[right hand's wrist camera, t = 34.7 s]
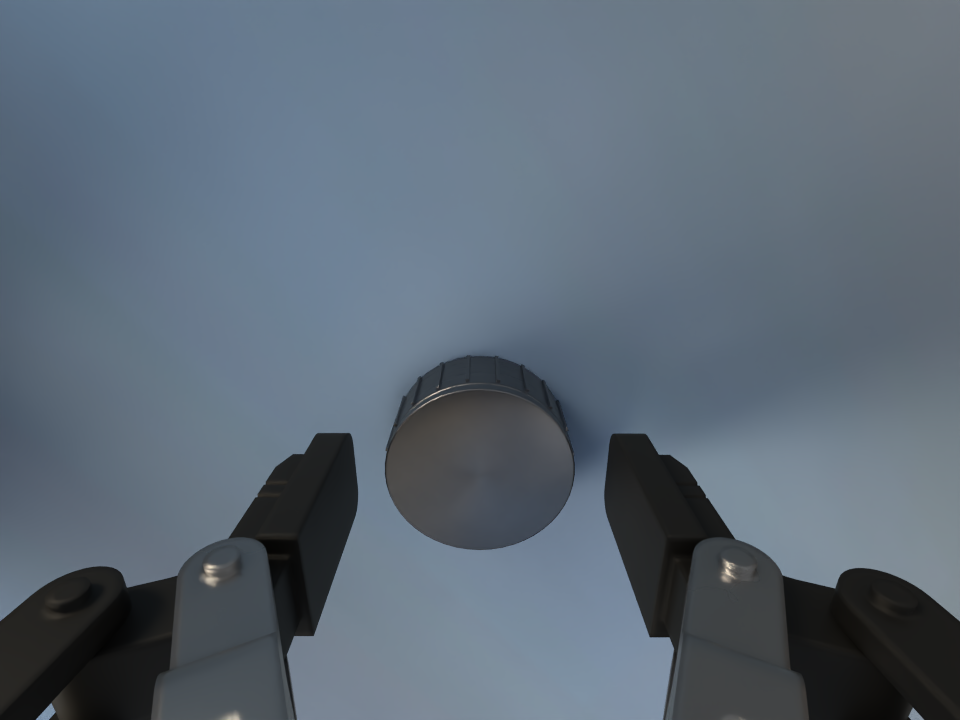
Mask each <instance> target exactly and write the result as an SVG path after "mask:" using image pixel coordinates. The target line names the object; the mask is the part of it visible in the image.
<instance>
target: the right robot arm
mask: <svg viewBox="0 0 960 720" xmlns="http://www.w3.org/2000/svg"><path fill="white" fill-rule="evenodd" d="M604 499H605V509H606V514H607V518H608V521H609V523H610V526H611V529H612V532H613V535H614V538H615V540H616V543H617V546H618V549H619V552H620V554H621V557H622V560H623V563H624V566H625V569H626V571H627V574H628V577H629V580H630V583H631V585H632V588H633V591H634V594H635V597H636V600H637V602H638V605H639V608H640V611H641V614H642V616H643V619H644V622H645V625H646V628H647V631H648V633H649V636H650V637H670V639H671V642H672V644H673V647H674V653H673V658H672V663H671V669H670V676H669V682H668V689H667V695H666V702H665V709H664V715H663V720H911V719H910V718H909V717H908V716H909V714H910V712H911V710H912V708H914V709H915V710H916V711H917V712H918V713H919V714H920V715H921V716H922V718H923V719H924V720H960V621H959V620H957V619H956V618H955V617H954V616H953V615H951V614H950V613H949V612H948V611H947V610H945V609H944V608H943V607H942V606H941V605H939V604H938V603H937V602H936V601H935V600H934V599H932V598H931V597H930V596H929V595H927V594H926V593H925V592H923V591H922V590H921V589H919V588H917V587H916V586H914V585H913V584H911V583H909V582H907V581H905V580H903V579H901V578H899V577H896V576H894V575H891V574H888V573H885V572H882V571H878V570H873V569H866V568H854V569H849V570H847V571H845V572H843V573H842V574H841V575H840V577H839V579H838V582H837V585H836V588H830V587H826V586H822V585H817V584H813V583H809V582H804V581H800V580H796V579H792V578H789V577H786V576H783V575H782V573H781V571H780V569H779V567H778V566H777V565H776V563H775V562H774V561H773V560H772V559H771V558H770V557H769V556H767V555H766V554H765V553H764V552H762V551H761V550H759V549H757V548H756V547H754V546H752V545H750V544H747V543H745V542H742V541H739V540H735V538H734V537H733V535H732V534H731V532H730V531H729V529H728V528H727V526H726V525H725V523H724V522H723V520H722V519H721V517H720V516H719V514H718V513H717V511H716V510H715V508H714V507H713V505H712V504H711V502H710V501H709V499H708V498H706V495H705V493H704V492H703V490H702V489H701V487H700V486H698V485H697V481H696V480H695V478H694V477H693V475H692V474H691V472H690V471H689V469H688V468H687V467H686V466H684V465H683V464H682V463H680V462H679V461H677V460H676V459H675V458H673V457H672V456H671V455H659V454H658V453H657V451H656V449H655V448H654V446H653V444H652V443H651V441H650V439H649V438H648V436H647V435H646V434H612V436H611V439H610V444H609V453H608V462H607V472H606V481H605V491H604ZM357 505H358V485H357V476H356V466H355V457H354V447H353V440H352V436H351V434H350V433H317V434H316V435H315V437H314V439H313V440H312V442H311V444H310V445H309V447H308V449H307V450H306V452H305V454H293V455H291V456H290V457H289V458H287V459H286V460H285V461H283V462H282V463H280V464H279V465H278V466H276V467H275V469H274V470H273V472H272V473H271V475H270V476H269V478H268V479H267V481H266V485H263V487H262V488H261V490H260V491H259V493H258V497H255V499H254V501H253V502H252V504H251V505H250V507H249V508H248V510H247V511H246V513H245V514H244V516H243V517H242V519H241V520H240V522H239V523H238V525H237V526H236V528H235V529H234V531H233V532H232V534H231V535H230V537H229V538H228V539H225V540H221V541H218V542H215V543H213V544H210V545H208V546H206V547H204V548H203V549H201V550H199V551H198V552H196V553H195V554H194V555H193V556H191V557H190V558H189V559H188V560H187V561H186V562H185V563H184V565H183V566H182V567H181V569H180V571H179V573H178V576H175V577H171V578H167V579H163V580H159V581H154V582H150V583H146V584H141V585H137V586H133V587H129V588H127V587H126V584H125V581H124V578H123V576H122V574H121V572H119V571H118V570H117V569H114V568H111V567H102V566H99V567H90V568H85V569H81V570H78V571H74V572H72V573H69V574H66V575H64V576H62V577H60V578H57V579H55V580H54V581H52V582H50V583H48V584H47V585H45V586H43V587H42V588H40V589H39V590H38V591H36V592H35V593H34V594H32V595H31V596H30V597H29V598H28V599H26V600H25V601H24V602H23V603H22V604H21V605H19V606H18V607H17V608H16V609H15V610H13V611H12V612H11V613H10V614H9V615H7V616H6V617H5V618H4V619H3V620H1V621H0V720H36V719H37V718H38V717H39V715H40V714H41V713H42V712H43V711H44V710H45V709H46V708H47V707H48V706H49V705H50V703H52V705H53V707H54V709H55V712H56V713H55V714H54V715H53V716H52V717H51V718H50V719H49V720H297V715H296V709H295V702H294V695H293V689H292V682H291V676H290V669H289V663H288V658H287V653H288V650H289V648H290V645H291V643H292V640H293V637H294V636H314V633H315V631H316V628H317V625H318V622H319V619H320V616H321V613H322V610H323V608H324V605H325V602H326V599H327V596H328V593H329V590H330V588H331V585H332V582H333V579H334V576H335V573H336V570H337V567H338V565H339V562H340V559H341V556H342V553H343V550H344V547H345V544H346V542H347V539H348V536H349V533H350V530H351V527H352V524H353V521H354V519H355V515H356V511H357Z"/></svg>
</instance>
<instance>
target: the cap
mask: <svg viewBox="0 0 960 720" xmlns="http://www.w3.org/2000/svg"><path fill="white" fill-rule="evenodd" d="M567 431H568V428H567V425H566V422H565V419H564V415H563V412H562V409H561V406H560V403H559V401H558V400H557V401H556V400H555V398H554V396H553V395H552V393H551V392H550V390H549V389H548V387H547V385H546V382H545V381H544V380H542V381H541V380H540V379H539V378H538V377H537V376H536V375H535V374H533V373H532V372H530V371H529V370H527V369H526V368H525V366H524V365H522V364H521V366H520V365H518V364H516V363H514V362H511V361H507V360H504V359H500V358H498V356H495V357H488V356H474V357H470V355H467V357H465V358H459V359H455V360H452V361H449V362H446V363H443V362H442V363H440V366H437V367H436V368H434V369H432V370H431V371H429V372H428V373H426V374H425V375H424V376H423V377H421V376H420V377H419V378H418V380H417V382H416V384H415V385H414V386H413V387H412V388H411V390H410V391H409V393H408V394H407V395H406V396H403V398H402V401H401V404H400V407H399V410H398V414H397V417H396V419H395V422H394V425H393V428H392V431H391V434H390V437H389V440H388V444H387V447H386V451H387V454H386V461H385V477H386V484H387V487H388V490H389V494H390V496H391V498H392V500H393V502H394V504H395V506H396V507H397V509H398V510H399V512H400V513H401V515H402V516H403V517H404V518H405V519H406V520H407V521H408V522H409V523H410V524H411V525H412V526H413V527H414V528H416V529H417V530H418V531H420V532H421V533H423V534H424V535H426V536H428V537H430V538H432V539H434V540H436V541H438V542H441V543H443V544H446V545H450V546H453V547H457V548H464V549H474V550H486V549H496V548H502V547H506V546H510V545H514V544H516V543H519V542H522V541H524V540H526V539H528V538H530V537H532V536H534V535H535V534H537V533H538V532H540V531H541V530H543V529H544V528H545V527H546V526H547V525H549V524H550V523H551V522H552V521H553V520H554V519H555V518H556V516H557V515H558V514H559V513H560V511H561V510H562V508H563V507H564V505H565V504H566V501H567V499H568V497H569V495H570V492H571V489H572V486H573V481H574V475H575V463H574V451H573V448H572V445H571V442H570V439H569V435H568V432H567Z"/></svg>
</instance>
